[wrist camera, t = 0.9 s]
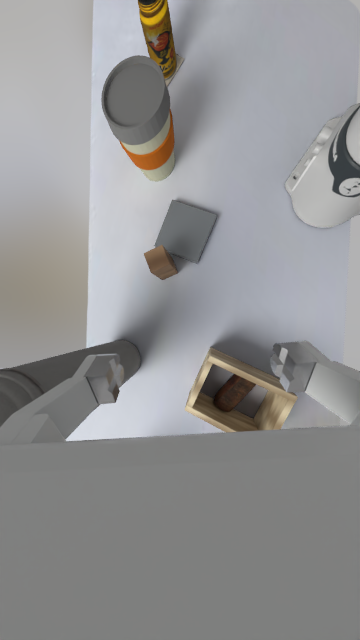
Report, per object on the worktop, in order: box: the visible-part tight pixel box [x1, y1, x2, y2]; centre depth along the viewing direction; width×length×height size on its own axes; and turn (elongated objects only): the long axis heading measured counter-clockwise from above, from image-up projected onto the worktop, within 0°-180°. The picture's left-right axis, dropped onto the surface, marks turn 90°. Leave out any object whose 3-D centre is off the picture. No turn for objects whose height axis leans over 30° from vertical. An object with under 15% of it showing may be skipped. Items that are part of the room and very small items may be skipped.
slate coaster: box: [155, 200, 217, 264], centre depth 44 cm, size 12×12×2 cm
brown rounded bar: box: [214, 374, 256, 412], centre depth 42 cm, size 11×4×5 cm, turn 141°
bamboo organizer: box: [185, 347, 298, 432], centre depth 40 cm, size 13×18×9 cm
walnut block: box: [144, 245, 178, 280], centre depth 42 cm, size 4×4×9 cm
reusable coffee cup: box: [102, 56, 175, 181], centre depth 38 cm, size 13×13×15 cm
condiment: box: [138, 0, 184, 86], centre depth 38 cm, size 7×8×12 cm
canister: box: [0, 340, 141, 427], centre depth 33 cm, size 13×13×35 cm
